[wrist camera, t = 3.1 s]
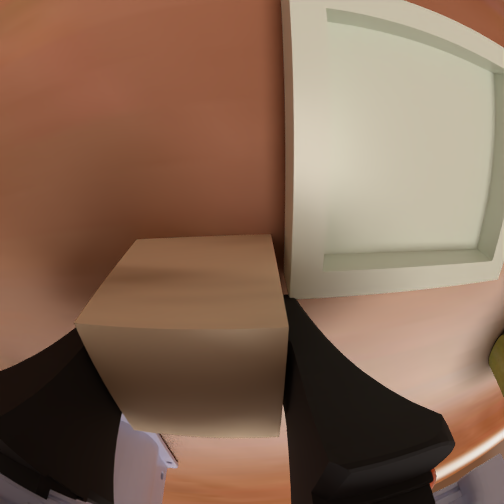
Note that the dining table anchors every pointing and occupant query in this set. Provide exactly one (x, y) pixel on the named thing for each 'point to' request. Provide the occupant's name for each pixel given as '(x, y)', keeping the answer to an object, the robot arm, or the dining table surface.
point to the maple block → (193, 336)
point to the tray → (389, 149)
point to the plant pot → (498, 362)
